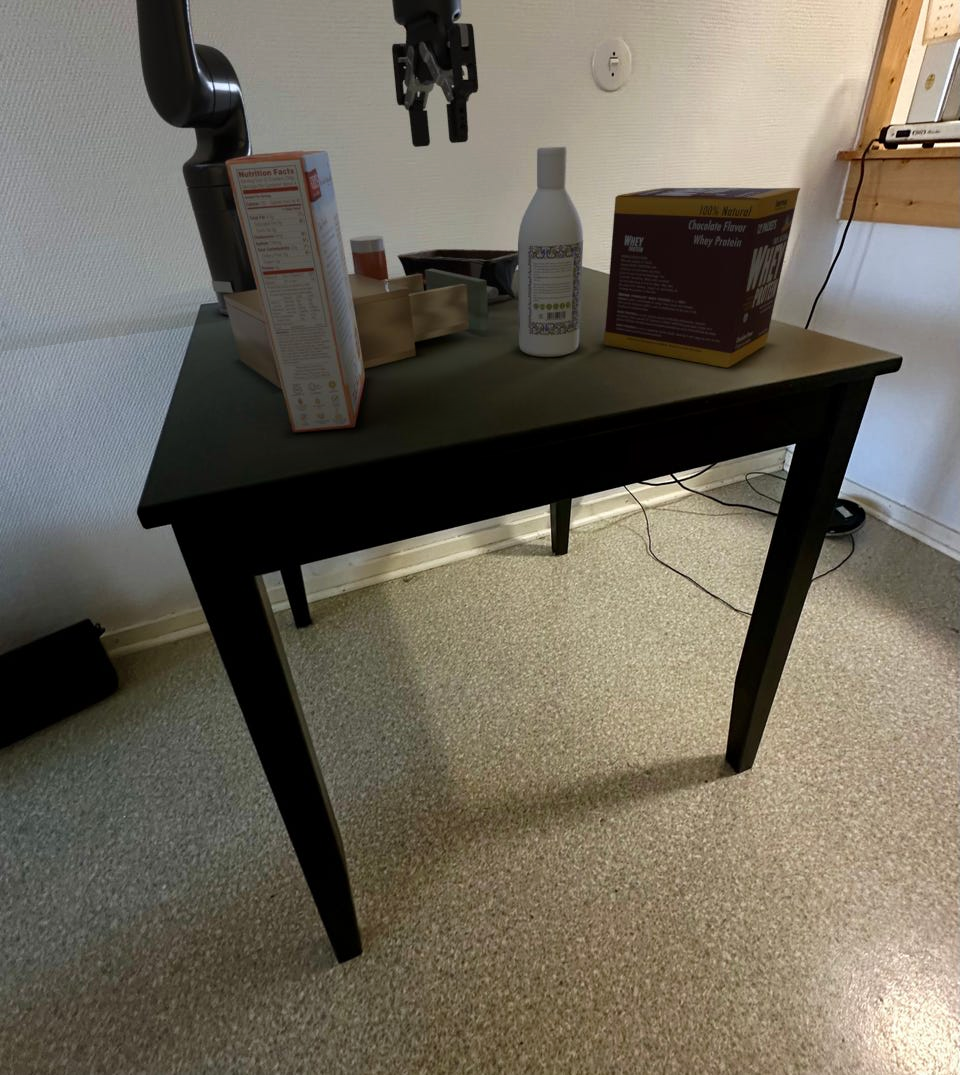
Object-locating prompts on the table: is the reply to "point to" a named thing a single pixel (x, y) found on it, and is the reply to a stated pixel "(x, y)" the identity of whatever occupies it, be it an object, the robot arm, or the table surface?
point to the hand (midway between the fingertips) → (439, 144)
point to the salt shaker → (369, 257)
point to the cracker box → (302, 283)
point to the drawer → (446, 302)
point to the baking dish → (466, 265)
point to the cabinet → (376, 316)
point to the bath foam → (550, 263)
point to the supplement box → (697, 270)
